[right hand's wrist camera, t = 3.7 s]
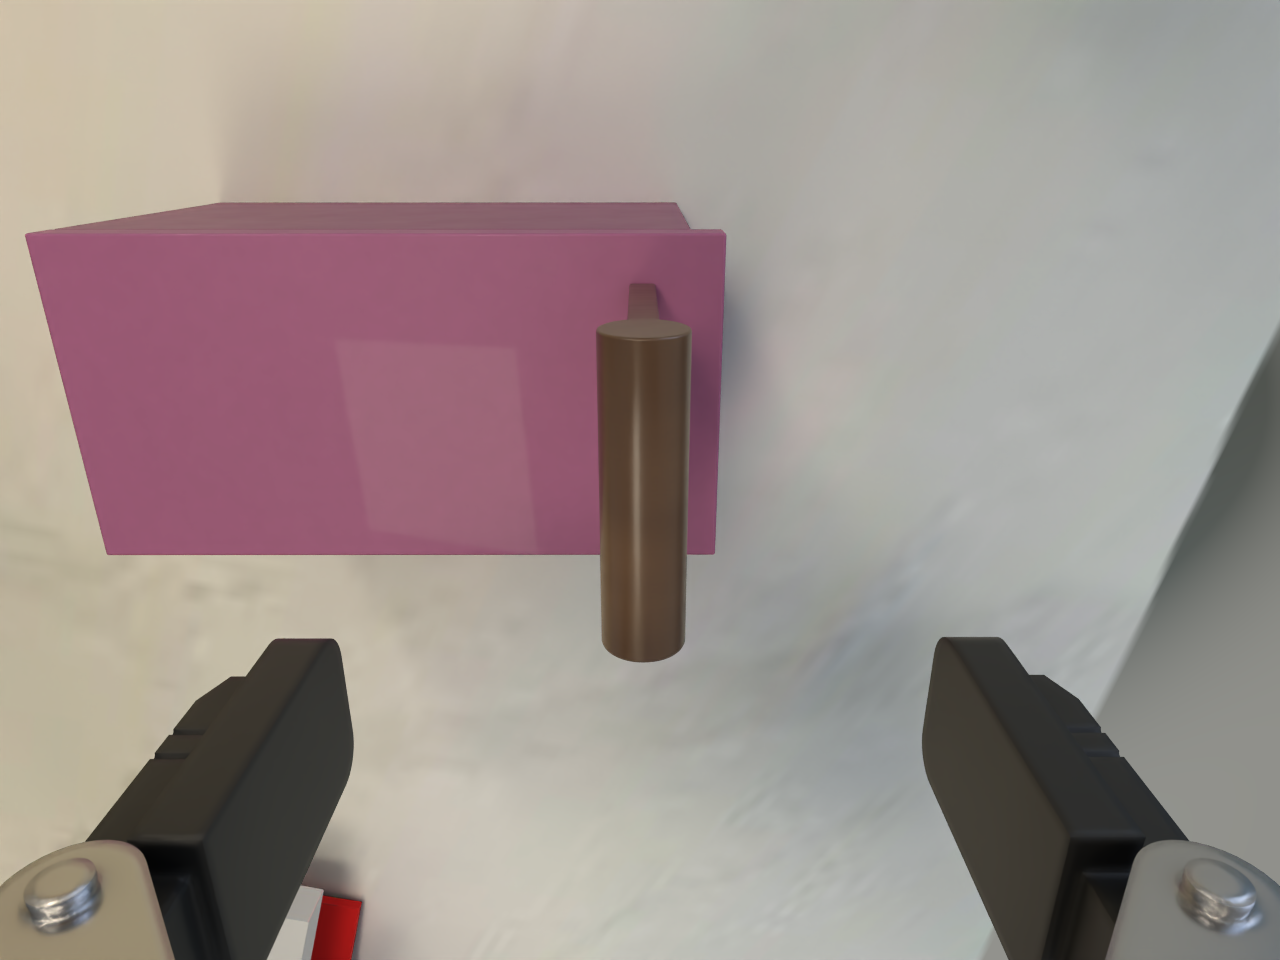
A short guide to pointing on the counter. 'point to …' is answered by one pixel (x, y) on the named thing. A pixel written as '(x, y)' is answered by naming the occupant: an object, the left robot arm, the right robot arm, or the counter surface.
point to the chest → (405, 217)
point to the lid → (402, 397)
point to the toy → (317, 928)
